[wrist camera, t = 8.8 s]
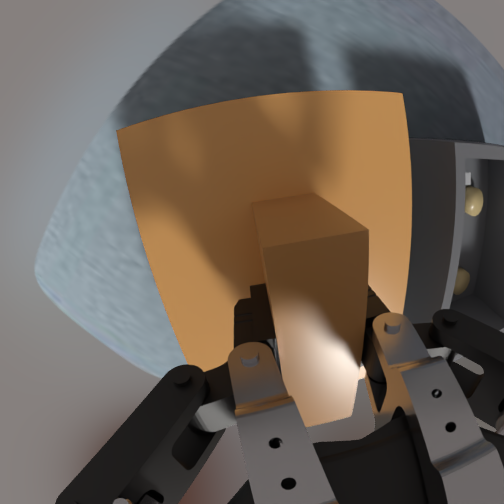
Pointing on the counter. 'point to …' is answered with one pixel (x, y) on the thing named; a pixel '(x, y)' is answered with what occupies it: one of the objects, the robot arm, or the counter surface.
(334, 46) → the counter surface
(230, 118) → the lid
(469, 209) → the tub
